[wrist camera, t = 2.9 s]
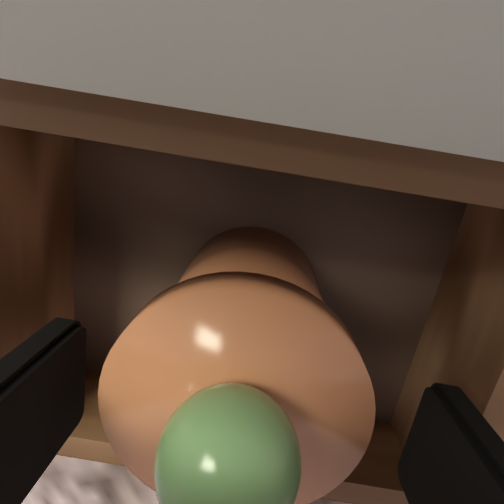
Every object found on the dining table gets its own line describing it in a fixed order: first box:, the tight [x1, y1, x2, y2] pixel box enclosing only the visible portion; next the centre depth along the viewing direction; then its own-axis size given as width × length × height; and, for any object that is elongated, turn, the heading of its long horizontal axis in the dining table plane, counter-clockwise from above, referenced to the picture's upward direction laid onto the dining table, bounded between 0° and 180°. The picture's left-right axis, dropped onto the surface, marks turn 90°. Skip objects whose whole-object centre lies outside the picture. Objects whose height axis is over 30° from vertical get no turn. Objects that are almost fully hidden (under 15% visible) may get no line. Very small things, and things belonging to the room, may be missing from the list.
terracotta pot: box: [98, 227, 376, 504], centre depth 10 cm, size 6×6×10 cm
